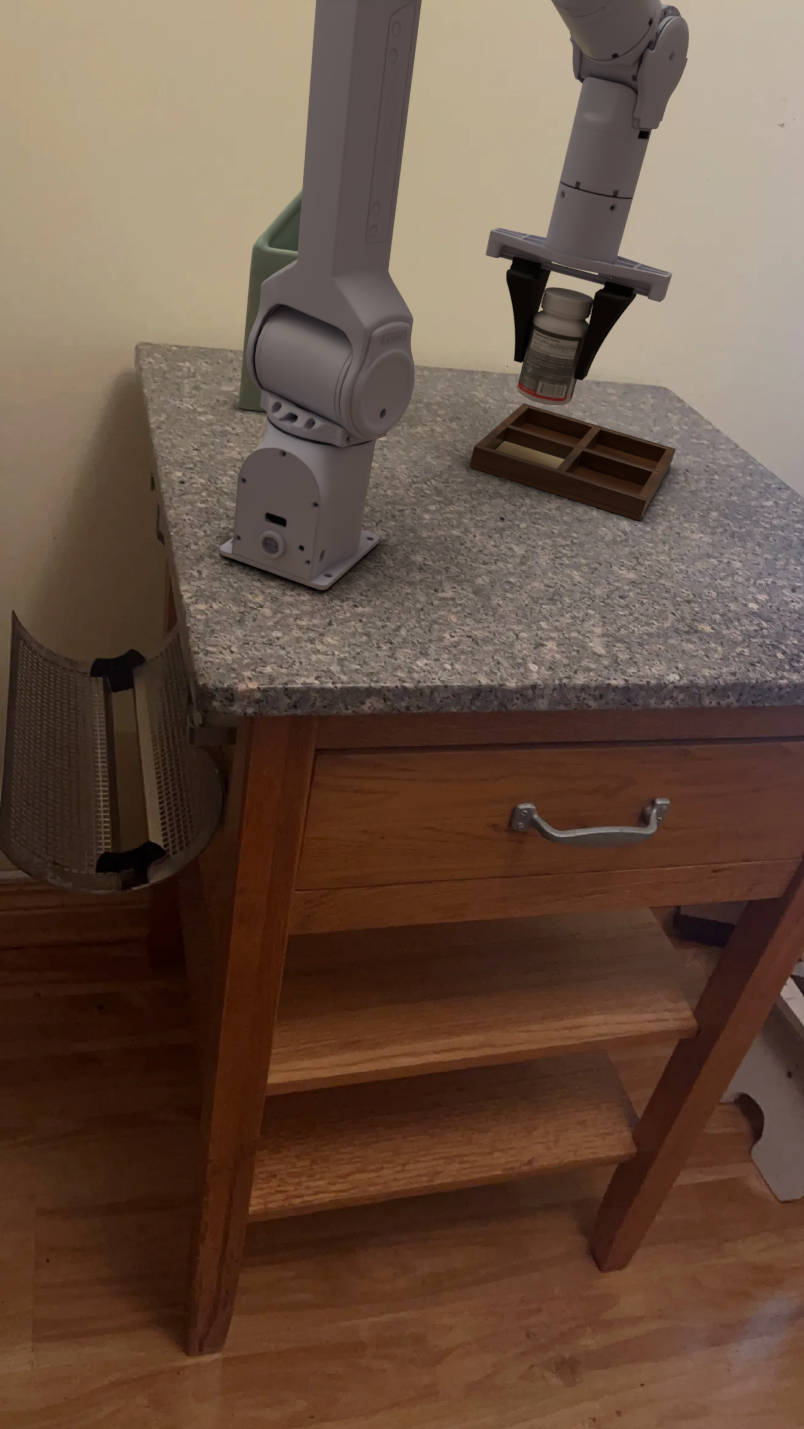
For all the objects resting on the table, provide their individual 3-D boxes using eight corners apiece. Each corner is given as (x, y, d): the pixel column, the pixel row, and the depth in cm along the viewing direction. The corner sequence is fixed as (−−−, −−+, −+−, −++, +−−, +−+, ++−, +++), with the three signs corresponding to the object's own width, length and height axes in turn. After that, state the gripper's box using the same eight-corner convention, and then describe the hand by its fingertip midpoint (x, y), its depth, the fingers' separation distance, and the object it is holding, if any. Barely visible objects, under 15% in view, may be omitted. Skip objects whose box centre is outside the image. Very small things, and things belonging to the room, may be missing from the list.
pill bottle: (535, 383, 90) (560, 283, 85) (581, 401, 88) (608, 300, 83) (505, 391, 87) (529, 287, 82) (551, 410, 85) (579, 305, 80)
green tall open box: (302, 437, 89) (333, 185, 77) (236, 406, 92) (257, 160, 81) (414, 407, 100) (455, 184, 89) (352, 380, 104) (384, 162, 92)
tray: (639, 521, 87) (646, 500, 86) (469, 467, 90) (473, 446, 89) (669, 467, 99) (676, 448, 98) (518, 421, 102) (523, 402, 101)
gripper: (697, 207, 80) (643, 381, 88) (521, 164, 83) (484, 335, 91) (683, 216, 74) (627, 401, 82) (494, 169, 77) (458, 352, 85)
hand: (550, 368), depth 86 cm, fingers closed on pill bottle, 5 cm apart
